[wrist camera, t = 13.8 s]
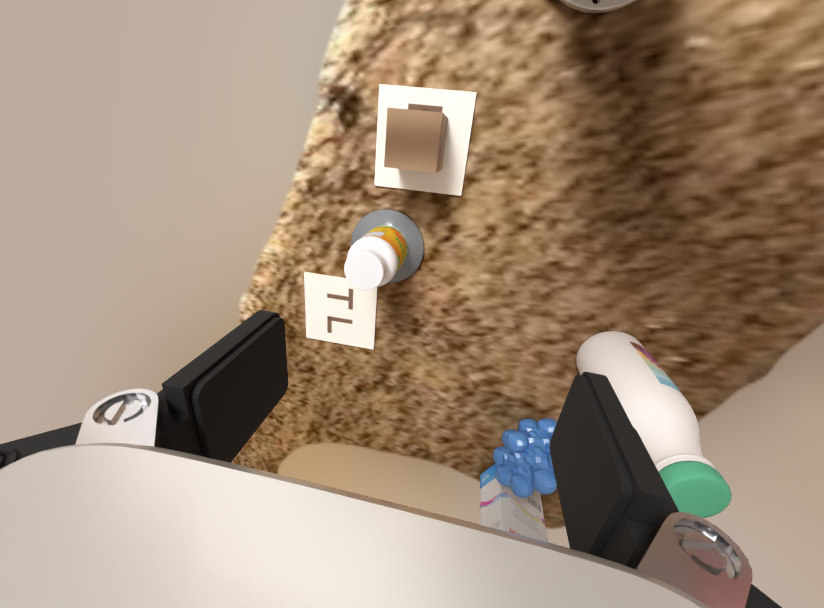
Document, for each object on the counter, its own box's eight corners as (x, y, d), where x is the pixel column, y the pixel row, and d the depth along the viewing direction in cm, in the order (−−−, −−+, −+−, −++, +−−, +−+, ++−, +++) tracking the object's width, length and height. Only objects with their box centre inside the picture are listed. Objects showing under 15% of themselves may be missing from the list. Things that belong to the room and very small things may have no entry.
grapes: (540, 380, 47) (558, 449, 36) (571, 412, 48) (598, 489, 37) (474, 421, 52) (472, 493, 41) (504, 450, 53) (510, 527, 42)
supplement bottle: (412, 265, 43) (395, 295, 34) (370, 269, 44) (343, 299, 35) (405, 221, 41) (385, 241, 32) (361, 227, 42) (331, 247, 33)
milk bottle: (574, 382, 46) (634, 531, 28) (575, 330, 43) (643, 460, 25) (639, 381, 44) (748, 538, 26) (645, 326, 42) (772, 462, 24)
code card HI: (379, 84, 36) (379, 83, 36) (476, 92, 35) (476, 92, 35) (374, 185, 40) (374, 185, 40) (461, 195, 39) (461, 196, 39)
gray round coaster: (353, 204, 42) (352, 205, 41) (427, 214, 41) (427, 215, 40) (351, 275, 46) (350, 276, 45) (419, 285, 44) (419, 287, 44)
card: (304, 271, 46) (304, 272, 46) (377, 283, 45) (377, 283, 45) (307, 336, 51) (306, 337, 50) (373, 348, 49) (373, 349, 49)
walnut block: (400, 113, 37) (387, 107, 31) (448, 118, 36) (442, 112, 31) (397, 164, 39) (384, 166, 33) (441, 169, 38) (435, 172, 33)
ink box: (477, 474, 56) (477, 551, 45) (499, 458, 54) (504, 535, 43) (517, 503, 57) (526, 586, 46) (541, 489, 55) (556, 572, 44)
